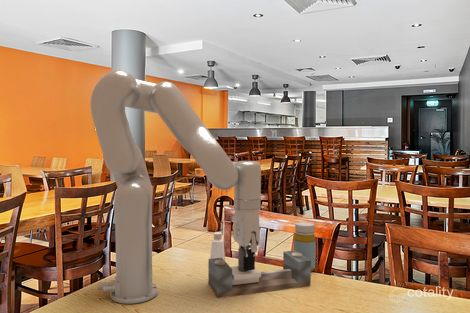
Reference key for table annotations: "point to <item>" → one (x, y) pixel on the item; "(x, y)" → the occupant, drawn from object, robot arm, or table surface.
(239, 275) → the carriage
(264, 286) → the rail track
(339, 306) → the table surface
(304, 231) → the bottle
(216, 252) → the pepper shaker
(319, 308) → the table surface
